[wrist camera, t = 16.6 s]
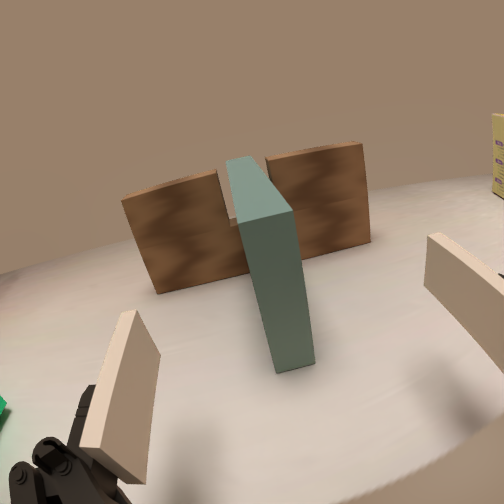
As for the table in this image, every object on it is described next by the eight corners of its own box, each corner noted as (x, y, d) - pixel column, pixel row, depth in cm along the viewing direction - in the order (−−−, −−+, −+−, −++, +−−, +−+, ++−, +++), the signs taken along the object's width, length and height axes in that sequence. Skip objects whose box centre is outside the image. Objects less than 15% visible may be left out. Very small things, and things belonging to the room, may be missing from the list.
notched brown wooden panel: (157, 294, 29) (120, 200, 25) (160, 283, 31) (126, 194, 27) (370, 242, 29) (362, 143, 25) (362, 234, 31) (353, 141, 27)
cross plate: (276, 373, 18) (237, 223, 13) (247, 249, 34) (225, 161, 30) (315, 363, 18) (293, 210, 13) (269, 244, 34) (250, 155, 30)
